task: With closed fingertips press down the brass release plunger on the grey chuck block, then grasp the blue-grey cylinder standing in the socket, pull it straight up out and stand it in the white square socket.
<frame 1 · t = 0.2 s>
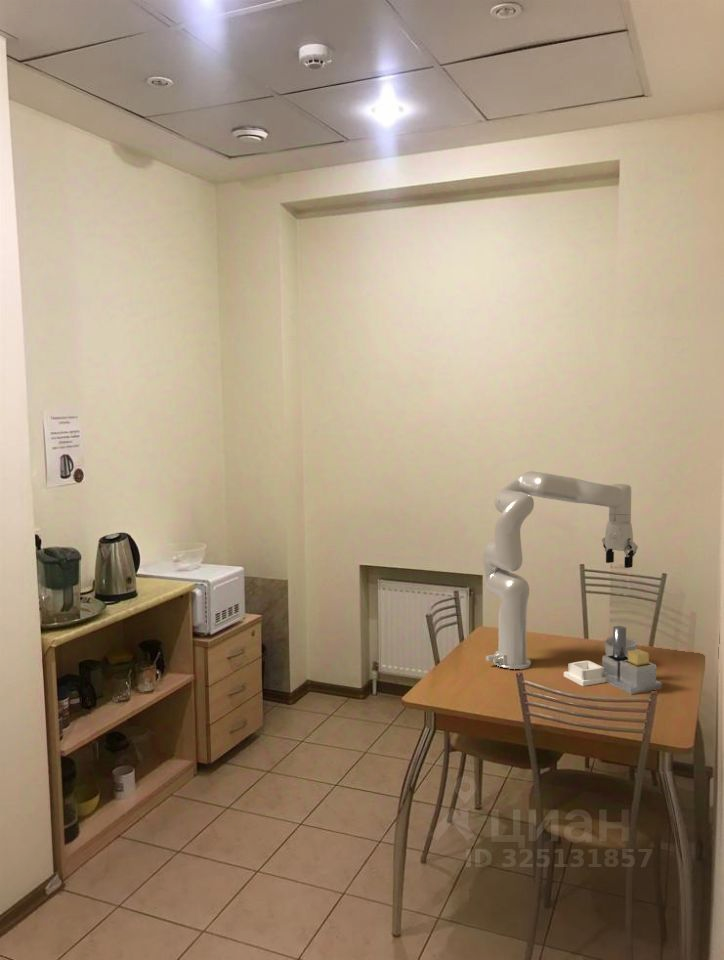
hand: (619, 564, 281), 31 cm above the table, fingers open, 9 cm apart
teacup: (619, 662, 269), on the table
blue-grey cylinder: (618, 672, 253), point 2 cm above the table, touching chuck block
white square socket: (585, 678, 253), on the table
chuck block: (627, 682, 249), on the table
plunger: (638, 661, 244), point 8 cm above the table, slide at 0.0 cm
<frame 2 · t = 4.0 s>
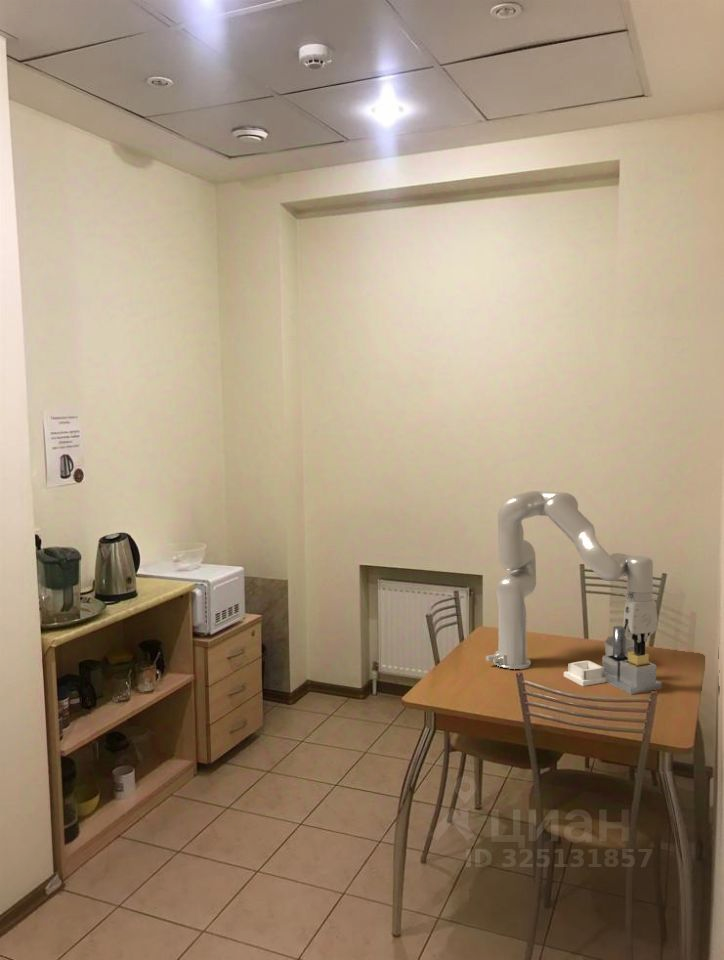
hand: (639, 653, 243), 11 cm above the table, fingers closed
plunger: (638, 662, 244), point 8 cm above the table, slide at 0.4 cm, touching gripper
everything else where it was.
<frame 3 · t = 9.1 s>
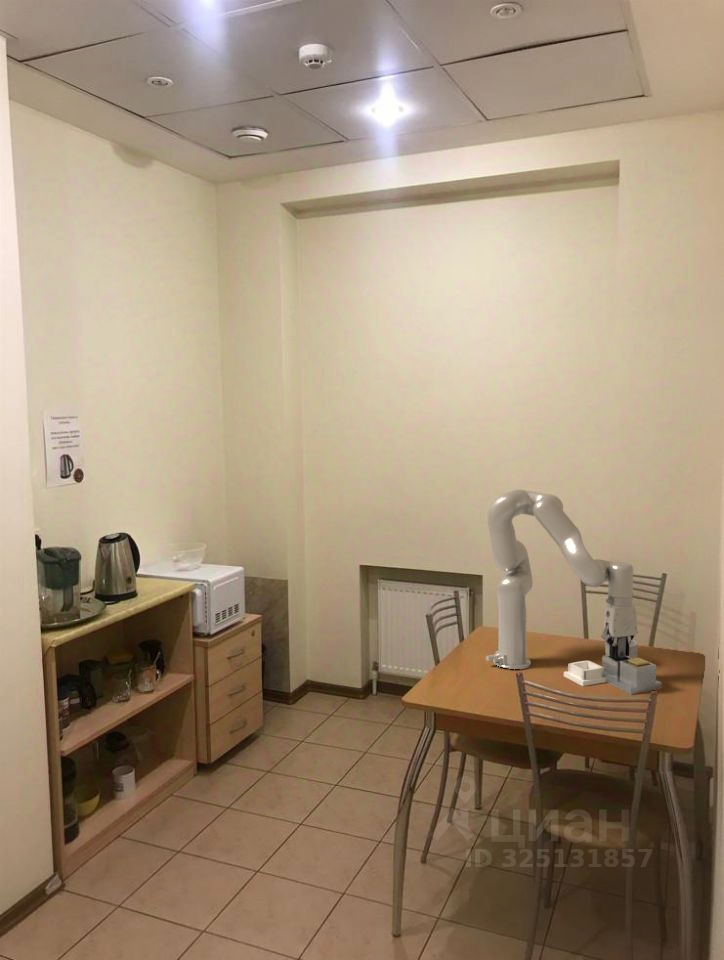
hand: (619, 655, 252), 8 cm above the table, fingers closed on blue-grey cylinder, 4 cm apart
blue-grey cylinder: (618, 672, 253), point 2 cm above the table, touching chuck block, gripper
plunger: (637, 669, 244), point 6 cm above the table, slide at 2.7 cm
everything else where it was.
when the fingers open (9 cm above the table, at t = 14.4 s): blue-grey cylinder drops 1 cm, resting on white square socket.
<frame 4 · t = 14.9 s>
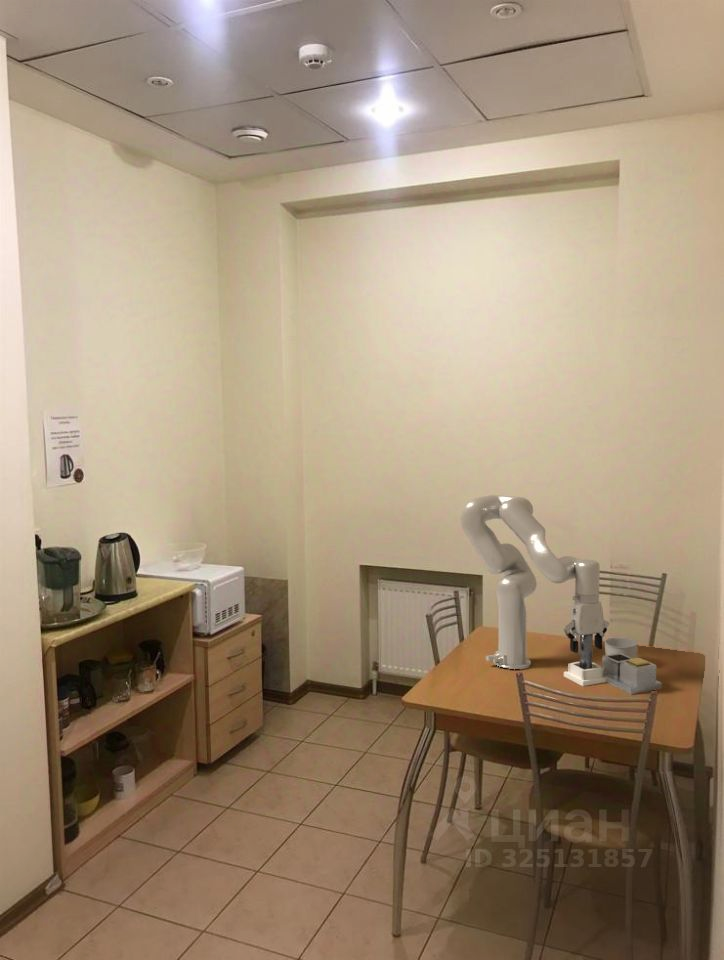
hand: (586, 649, 252), 10 cm above the table, fingers open, 9 cm apart
blue-grey cylinder: (585, 674, 253), point 2 cm above the table, touching white square socket
everything else where it was.
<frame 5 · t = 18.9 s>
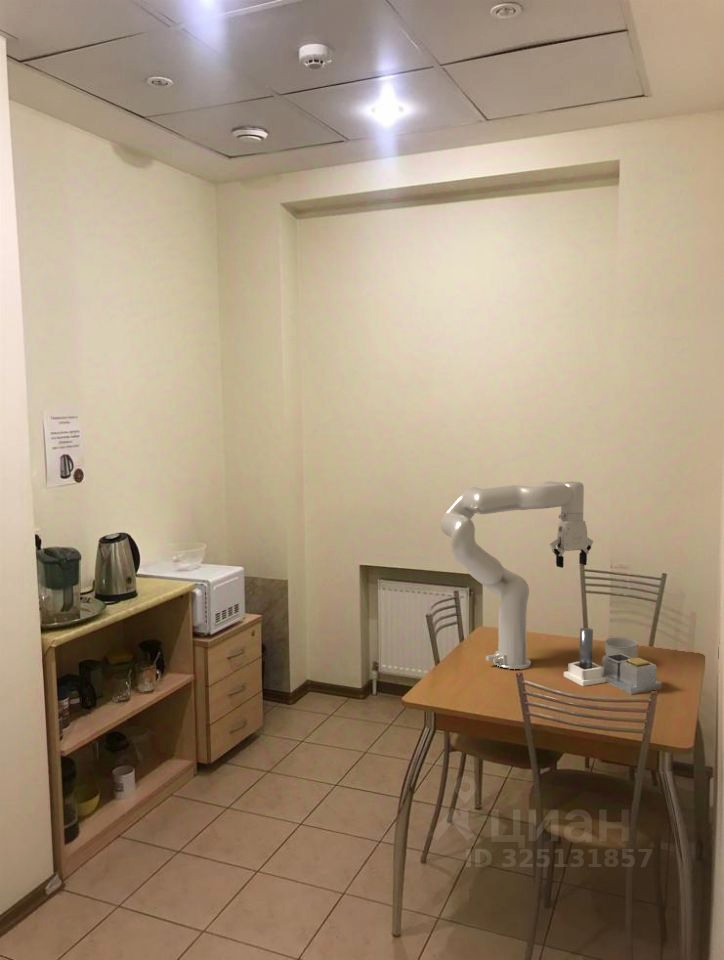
hand: (571, 565, 270), 33 cm above the table, fingers open, 9 cm apart
nothing on the table moved.
at the end: blue-grey cylinder 0.1 cm off-centre on the white square socket, point 1.5 cm above the white square socket's base; blue-grey cylinder tilted 0°; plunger slide at 2.7 cm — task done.
